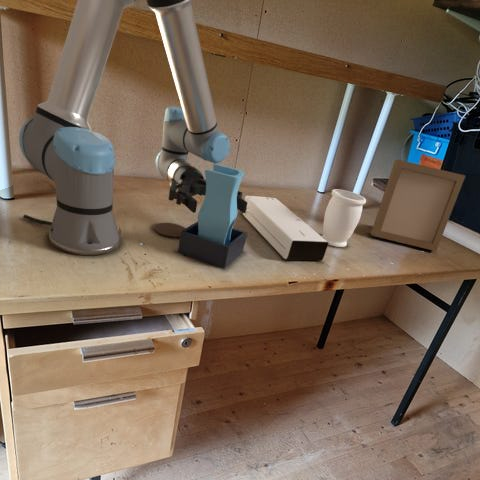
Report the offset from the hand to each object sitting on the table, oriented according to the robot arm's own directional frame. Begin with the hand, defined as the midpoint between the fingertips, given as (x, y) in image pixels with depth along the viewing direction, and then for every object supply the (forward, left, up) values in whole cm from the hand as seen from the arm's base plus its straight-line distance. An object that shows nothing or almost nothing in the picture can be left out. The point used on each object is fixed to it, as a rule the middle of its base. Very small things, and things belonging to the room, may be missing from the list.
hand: (221, 207), depth 98 cm
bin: (0, 0, -12) cm, 12 cm away
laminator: (+10, +25, -12) cm, 30 cm away
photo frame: (+46, +61, -12) cm, 77 cm away
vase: (0, 0, -12) cm, 12 cm away
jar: (+26, +36, -12) cm, 46 cm away
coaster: (-14, +4, -12) cm, 19 cm away
